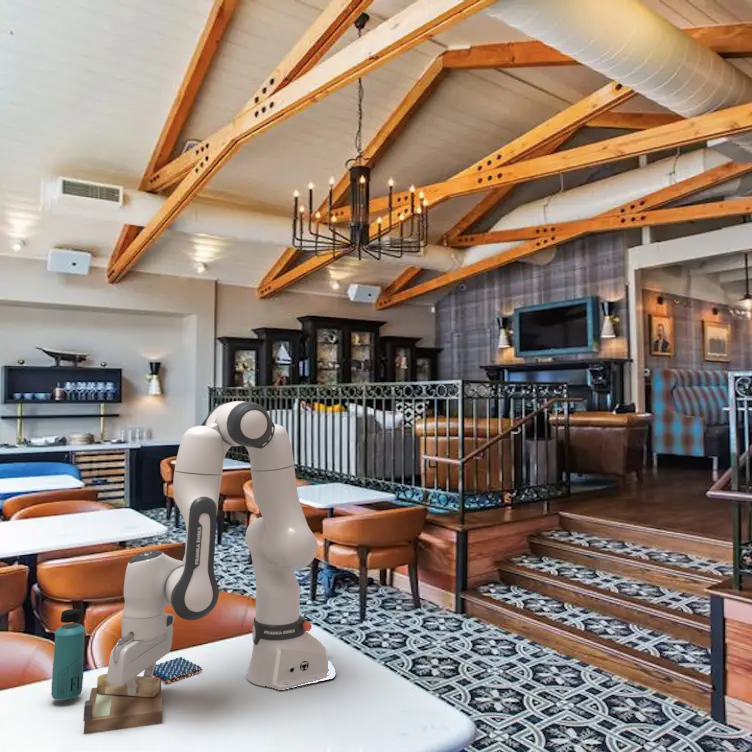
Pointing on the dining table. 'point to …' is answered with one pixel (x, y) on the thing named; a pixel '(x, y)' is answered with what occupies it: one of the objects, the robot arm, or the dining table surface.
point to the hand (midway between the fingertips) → (139, 689)
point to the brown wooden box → (121, 711)
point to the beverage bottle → (68, 657)
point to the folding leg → (146, 687)
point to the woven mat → (175, 670)
